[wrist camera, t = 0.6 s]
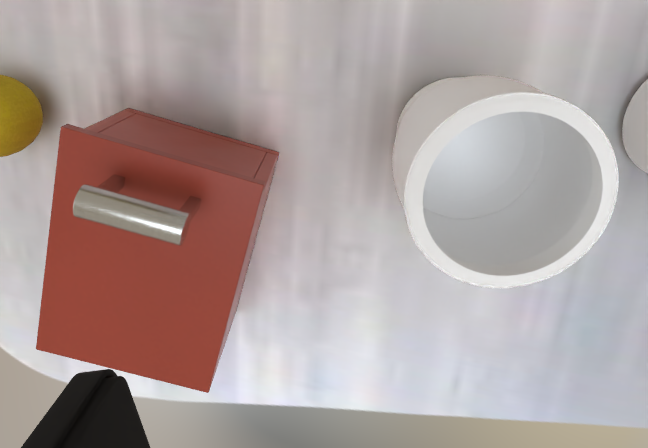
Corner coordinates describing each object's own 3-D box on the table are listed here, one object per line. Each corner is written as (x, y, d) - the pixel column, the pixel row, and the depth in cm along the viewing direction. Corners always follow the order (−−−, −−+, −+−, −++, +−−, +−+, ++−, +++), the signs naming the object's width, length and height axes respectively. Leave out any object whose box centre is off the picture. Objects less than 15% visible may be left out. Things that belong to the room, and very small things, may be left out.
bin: (128, 107, 40) (65, 136, 31) (279, 152, 41) (262, 193, 32) (101, 275, 46) (42, 342, 36) (236, 311, 47) (211, 385, 37)
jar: (366, 182, 42) (380, 267, 28) (402, 46, 38) (439, 68, 24) (496, 210, 43) (572, 308, 29) (544, 80, 39) (659, 120, 25)
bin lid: (67, 123, 31) (12, 146, 26) (265, 181, 32) (251, 214, 27) (41, 342, 36) (-8, 397, 31) (210, 385, 37) (190, 446, 32)
